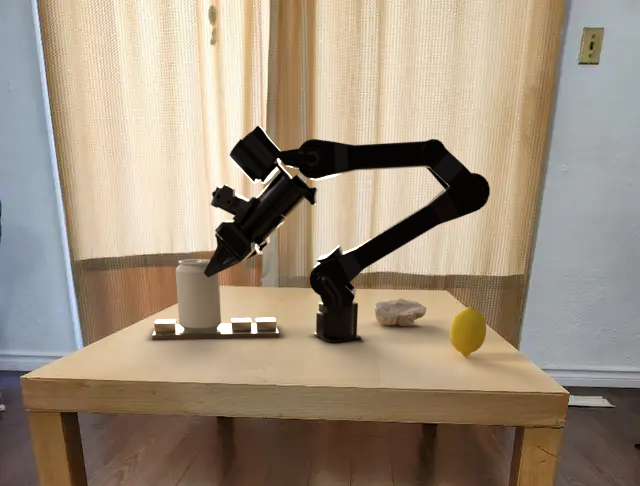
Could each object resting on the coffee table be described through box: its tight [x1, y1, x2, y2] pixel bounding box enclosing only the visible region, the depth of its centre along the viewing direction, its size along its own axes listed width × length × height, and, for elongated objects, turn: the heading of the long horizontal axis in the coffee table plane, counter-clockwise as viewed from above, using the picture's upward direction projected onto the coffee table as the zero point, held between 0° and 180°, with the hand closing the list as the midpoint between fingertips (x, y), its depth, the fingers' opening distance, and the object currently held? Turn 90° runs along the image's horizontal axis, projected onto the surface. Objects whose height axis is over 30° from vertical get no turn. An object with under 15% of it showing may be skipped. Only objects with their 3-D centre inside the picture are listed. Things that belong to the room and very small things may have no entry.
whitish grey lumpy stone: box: [374, 298, 427, 327], centre depth 115 cm, size 9×6×10 cm
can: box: [175, 258, 222, 332], centre depth 102 cm, size 8×8×12 cm
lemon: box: [449, 305, 487, 357], centre depth 91 cm, size 6×6×8 cm
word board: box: [151, 317, 280, 341], centre depth 105 cm, size 22×9×2 cm, turn 99°
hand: (213, 272), depth 101 cm, fingers open, 9 cm apart
